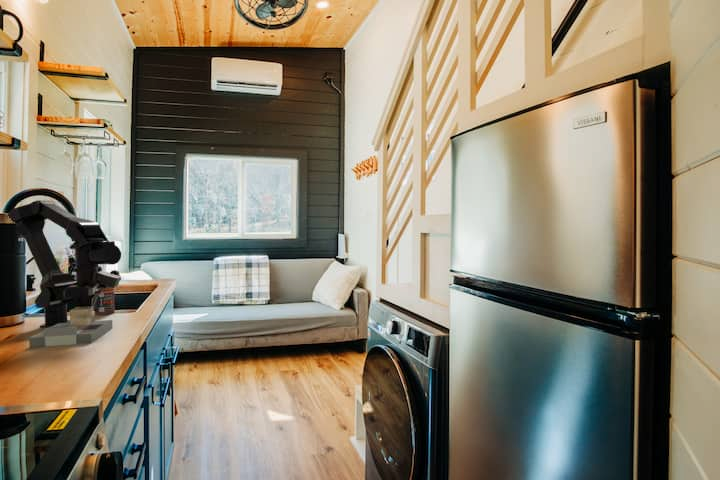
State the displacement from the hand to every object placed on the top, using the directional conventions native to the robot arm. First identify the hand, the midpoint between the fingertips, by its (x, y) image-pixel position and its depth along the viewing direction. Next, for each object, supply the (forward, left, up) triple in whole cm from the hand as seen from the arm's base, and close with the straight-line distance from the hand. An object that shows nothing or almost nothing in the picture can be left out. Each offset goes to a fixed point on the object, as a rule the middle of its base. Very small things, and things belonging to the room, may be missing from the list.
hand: (89, 316), depth 127 cm
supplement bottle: (-21, -3, -4) cm, 22 cm away
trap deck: (+11, 0, -4) cm, 11 cm away
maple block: (+5, 0, -1) cm, 5 cm away
